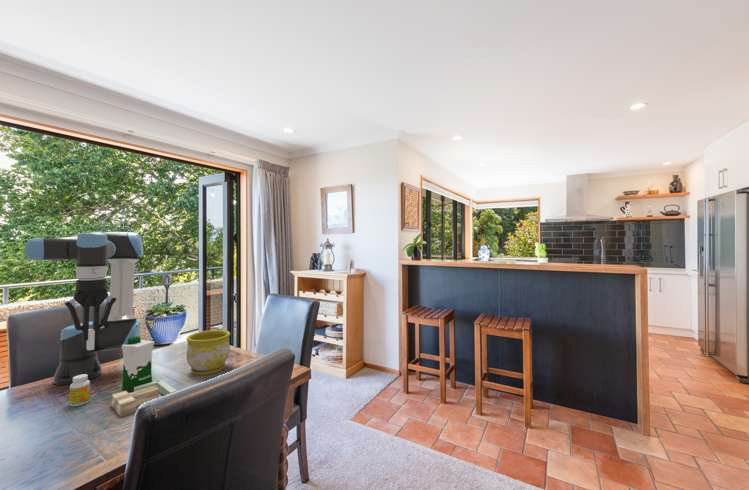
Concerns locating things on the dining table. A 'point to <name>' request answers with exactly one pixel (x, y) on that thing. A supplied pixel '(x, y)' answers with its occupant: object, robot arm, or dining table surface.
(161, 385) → the corner stop
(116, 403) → the t block
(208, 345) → the flowerpot
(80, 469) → the dining table surface
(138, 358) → the milk carton
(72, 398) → the supplement bottle
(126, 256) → the robot arm
